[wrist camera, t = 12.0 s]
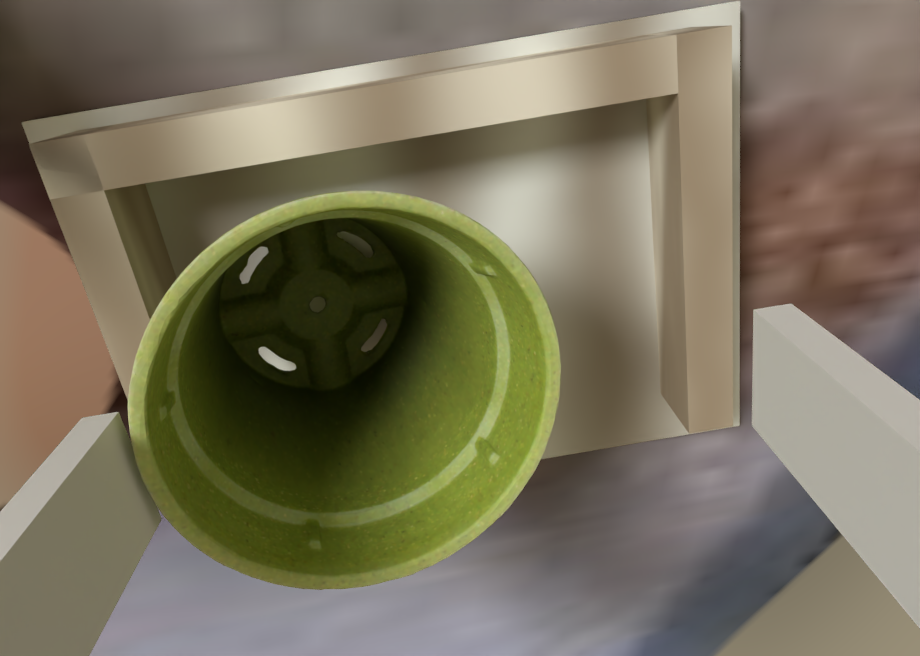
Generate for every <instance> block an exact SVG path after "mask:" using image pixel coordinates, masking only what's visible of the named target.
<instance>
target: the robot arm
mask: <svg viewBox="0 0 920 656" xmlns="http://www.w3.org/2000/svg"><path fill="white" fill-rule="evenodd" d="M752 426H753V427H754V429H755V430H756V431H757V432H758V434H759V435H760V436H761V437H762V438H763V440H764V441H765V442H766V443H767V444H768V446H769V447H770V448H771V449H772V450H773V452H774V453H775V454H776V455H777V457H778V458H779V459H780V460H781V461H782V463H783V464H784V465H785V466H786V467H787V469H788V470H789V471H790V472H791V473H792V475H793V476H794V477H795V478H796V480H797V481H798V482H799V483H800V484H801V486H802V487H803V488H804V489H805V490H806V492H807V493H808V494H809V495H810V496H811V498H812V499H813V500H814V501H815V503H816V504H817V505H818V506H819V507H820V509H821V510H822V511H823V512H824V513H825V515H826V516H827V517H828V518H829V519H830V521H831V522H832V523H833V524H834V526H835V527H836V528H837V529H838V530H839V532H840V533H841V534H842V535H843V536H844V538H845V539H846V540H847V541H848V542H849V544H850V545H851V546H852V547H853V548H854V550H855V551H856V552H857V553H858V554H859V556H860V557H861V558H862V559H863V561H864V562H865V563H866V564H867V565H868V567H869V568H870V569H871V570H872V571H873V573H874V574H875V575H876V576H877V578H878V579H879V580H880V581H881V582H882V584H883V585H884V586H885V587H886V588H887V589H888V591H889V592H890V593H891V595H892V596H893V597H894V598H895V599H896V600H897V602H898V603H899V604H900V605H901V607H902V608H903V609H904V610H905V611H906V613H907V614H908V615H909V616H910V618H911V619H912V620H913V621H914V622H915V623H916V625H917V626H918V627H919V628H920V400H919V399H918V398H916V397H915V396H914V395H912V394H911V393H910V392H908V391H907V390H906V389H904V388H903V387H902V386H900V385H899V384H898V383H896V382H895V381H894V380H892V379H891V378H890V377H888V376H887V375H886V374H884V373H883V372H882V371H880V370H879V369H878V368H876V367H875V366H874V365H872V364H871V363H870V362H868V361H867V360H866V359H864V358H863V357H862V356H860V355H859V354H858V353H856V352H855V351H854V350H852V349H851V348H850V347H848V346H847V345H846V344H844V343H843V342H842V341H840V340H839V339H838V338H836V337H835V336H834V335H832V334H831V333H830V332H828V331H827V330H826V329H824V328H823V327H822V326H820V325H819V324H818V323H816V322H815V321H814V320H812V319H811V318H810V317H808V316H807V315H806V314H804V313H803V312H802V311H800V310H799V309H798V308H796V307H795V306H794V305H792V304H785V305H779V306H773V307H767V308H761V309H754V310H753V377H752ZM161 519H162V518H161V516H160V514H159V511H158V509H157V506H156V504H155V502H154V500H153V498H152V497H151V495H150V493H149V491H148V490H147V488H146V486H145V483H144V482H143V480H142V477H141V474H140V471H139V469H138V466H137V463H136V459H135V455H134V451H133V447H132V444H131V442H130V439H129V437H128V434H127V432H126V429H125V427H124V425H123V422H122V420H121V417H120V415H119V412H115V413H109V414H103V415H97V416H90V417H85V418H82V419H81V420H80V421H79V422H78V423H77V424H76V425H75V426H74V428H73V429H72V430H71V431H70V432H69V433H68V434H67V436H66V437H65V438H64V439H63V440H62V441H61V442H60V444H59V445H58V446H57V447H56V448H55V449H54V451H53V452H52V453H51V454H50V455H49V456H48V457H47V459H46V460H45V461H44V462H43V463H42V464H41V465H40V467H39V468H38V469H37V470H36V471H35V472H34V473H33V475H32V476H31V477H30V478H29V479H28V480H27V481H26V483H25V484H24V485H23V486H22V487H21V488H20V490H19V491H18V492H17V493H16V494H15V495H14V496H13V498H12V499H11V500H10V501H9V502H8V503H7V504H6V506H5V507H4V508H3V509H2V510H1V511H0V656H89V655H90V653H91V651H92V649H93V647H94V646H95V644H96V642H97V640H98V638H99V636H100V634H101V632H102V630H103V629H104V627H105V625H106V623H107V621H108V619H109V617H110V615H111V613H112V612H113V610H114V608H115V606H116V604H117V602H118V600H119V598H120V597H121V595H122V593H123V591H124V589H125V587H126V585H127V583H128V581H129V580H130V578H131V576H132V574H133V572H134V570H135V568H136V566H137V564H138V563H139V561H140V559H141V557H142V555H143V553H144V551H145V549H146V548H147V546H148V544H149V542H150V540H151V538H152V536H153V534H154V532H155V531H156V529H157V527H158V525H159V523H160V521H161Z"/></svg>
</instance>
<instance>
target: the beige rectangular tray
mask: <svg viewBox="0 0 920 656" xmlns="http://www.w3.org/2000/svg"><path fill="white" fill-rule="evenodd" d="M21 123H22V126H23V128H24V131H25V133H26V136H27V139H28V141H29V147H30V150H31V152H32V155H33V157H34V160H35V162H36V165H37V168H38V170H39V173H40V175H41V178H42V180H43V183H44V186H45V188H46V191H47V193H48V196H49V198H50V201H51V204H52V206H53V209H54V211H55V214H56V217H57V219H58V222H59V224H60V227H61V229H62V232H63V235H64V237H65V240H66V242H67V245H68V247H69V250H70V253H71V255H72V258H73V260H74V263H75V265H76V268H77V271H78V273H79V275H80V278H81V281H82V284H83V286H84V288H85V291H86V293H87V296H88V299H89V302H90V304H91V307H92V309H93V312H94V314H95V317H96V320H97V322H98V325H99V327H100V330H101V332H102V335H103V338H104V340H105V343H106V345H107V348H108V351H109V353H110V356H111V358H112V361H113V363H114V366H115V369H116V371H117V374H118V376H119V379H120V381H121V384H122V387H123V389H124V392H125V394H126V397H127V399H128V394H129V385H130V380H131V375H132V370H133V365H134V361H135V357H136V354H137V351H138V348H139V345H140V342H141V340H142V337H143V334H144V332H145V329H146V327H147V325H148V323H149V321H150V319H151V318H152V316H153V314H154V312H155V310H156V308H157V307H158V305H159V303H160V302H161V300H162V298H163V297H164V295H165V294H166V292H167V291H168V290H169V288H170V287H171V286H172V284H173V283H174V282H175V280H176V279H177V278H178V277H179V275H180V274H181V273H182V272H183V271H184V269H185V268H186V267H187V266H188V265H189V264H190V263H191V262H192V261H193V260H194V259H195V258H196V257H197V256H198V255H199V254H200V253H201V252H202V251H203V250H205V249H206V248H207V247H208V246H210V245H211V244H212V243H213V242H215V241H216V240H217V239H218V238H219V237H221V236H222V235H223V234H225V233H226V232H228V231H229V230H231V229H232V228H234V227H236V226H237V225H239V224H240V223H242V222H244V221H246V220H248V219H250V218H251V217H253V216H255V215H257V214H259V213H262V212H264V211H266V210H269V209H271V208H273V207H276V206H278V205H281V204H284V203H287V202H290V201H293V200H296V199H300V198H304V197H309V196H313V195H318V194H324V193H331V192H340V191H383V192H393V193H400V194H405V195H411V196H416V197H419V198H423V199H426V200H430V201H433V202H436V203H439V204H442V205H444V206H447V207H450V208H452V209H454V210H456V211H459V212H461V213H463V214H464V215H466V216H468V217H470V218H471V219H473V220H475V221H476V222H478V223H480V224H481V225H483V226H484V227H486V228H487V229H489V230H490V231H491V232H493V233H494V234H495V235H496V236H498V237H499V238H500V239H501V240H502V241H503V242H504V243H506V244H507V245H508V246H509V247H510V248H511V250H512V251H513V252H514V253H515V254H516V255H517V256H518V257H519V259H520V260H521V261H522V262H523V263H524V264H525V266H526V267H527V268H528V270H529V271H530V272H531V274H532V275H533V277H534V278H535V280H536V281H537V283H538V285H539V287H540V289H541V291H542V292H543V294H544V296H545V298H546V300H547V303H548V305H549V308H550V311H551V314H552V317H553V320H554V324H555V328H556V333H557V338H558V343H559V351H560V361H561V384H560V397H559V402H558V409H557V412H556V417H555V421H554V425H553V428H552V431H551V434H550V437H549V440H548V443H547V445H546V448H545V451H544V453H543V455H542V458H541V459H546V458H552V457H558V456H564V455H570V454H576V453H582V452H588V451H593V450H599V449H605V448H611V447H617V446H623V445H629V444H635V443H641V442H646V441H652V440H658V439H664V438H670V437H676V436H682V435H688V434H694V433H699V432H705V431H711V430H717V429H723V428H729V427H735V426H740V1H735V2H728V3H722V4H716V5H710V6H704V7H698V8H692V9H687V10H681V11H675V12H669V13H663V14H657V15H651V16H645V17H639V18H633V19H627V20H621V21H616V22H610V23H604V24H598V25H592V26H586V27H580V28H574V29H568V30H562V31H556V32H550V33H545V34H539V35H533V36H527V37H521V38H515V39H509V40H503V41H497V42H491V43H485V44H479V45H473V46H468V47H462V48H456V49H450V50H444V51H438V52H432V53H426V54H420V55H414V56H408V57H402V58H397V59H391V60H385V61H379V62H373V63H367V64H361V65H355V66H349V67H343V68H337V69H331V70H326V71H320V72H314V73H308V74H302V75H296V76H290V77H284V78H278V79H272V80H266V81H260V82H254V83H249V84H243V85H237V86H231V87H225V88H219V89H213V90H207V91H201V92H195V93H189V94H183V95H178V96H172V97H166V98H160V99H154V100H148V101H142V102H136V103H130V104H124V105H118V106H112V107H106V108H101V109H95V110H89V111H83V112H77V113H71V114H65V115H59V116H53V117H47V118H41V119H35V120H30V121H25V122H21ZM337 236H338V237H339V238H341V239H342V238H343V239H344V241H346V242H348V243H349V244H351V245H353V246H354V247H355V248H356V249H358V250H359V251H360V252H361V253H363V255H364V256H366V257H369V258H371V256H372V255H373V251H372V248H371V246H370V245H369V244H368V243H366V242H365V241H364V240H363V239H361V238H359V237H358V236H356V235H353V234H350V233H348V232H344V231H342V232H340V233H339V232H338V233H337ZM267 254H268V248H267V247H259V248H258V249H257V250H256V251H254V252H253V253H252V254H251V255H250V257H249V259H248V264H247V266H246V267H245V268H244V270H243V272H242V273H241V274H240V280H241V281H242V282H241V283H242V284H245V283H248V282H249V280H250V277H251V275H252V273H253V272H254V270H255V268H256V266H257V265H258V264H259V263H260V262H261V260H262V259H263V257H265V256H266V255H267ZM325 304H326V303H325V300H324V298H322V297H315V298H313V300H312V301H311V302H310V308H311V310H312V311H314V312H320V311H321V310H323V309H324V307H325ZM386 327H387V323H386V320H385V319H381V321H380V323H379V324H378V327H377V329H376V330H375V332H374V333H373V335H372V336H371V337H370V338H369V339H368V340H367V341H366V342H365V343H364V345H363V346H362V347H361V350H362V351H364V352H367V351H368V350H371V349H372V348H373V347H374V346H375V345H376V344H377V343H378V341H379V340H380V338H381V337H382V335H383V333H384V331H385V329H386ZM258 351H259V354H260V355H261V357H262V358H263V359H264V360H265V361H266V362H268V363H270V364H272V365H273V366H275V367H276V368H278V369H281V370H284V371H291V370H295V369H296V365H295V364H294V363H293V362H291V361H287V360H284V359H282V358H280V357H279V356H277V355H275V354H274V353H273V352H272V351H270V350H269V349H267V348H266V347H260V348H259V350H258Z"/></svg>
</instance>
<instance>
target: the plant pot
mask: <svg viewBox="0 0 920 656" xmlns="http://www.w3.org/2000/svg"><path fill="white" fill-rule="evenodd" d="M342 231H344V232H348V233H350V234H353V235H356V236H358V237H359V238H361V239H363V240H364V241H365V242H366V243H368V244H369V245H370V246H371V248H372V251H373V255H372V256H371V258H369V257H366V256H364V255H363V253H361V252H360V251H359V250H358V249H356V248H355V247H354V246H353V245H351V244H349V243H348V242H346V241H344V239H343V238H342V239H341V238H339V237H338V236H337V233H338V232H339V233H340V232H342ZM259 247H267V248H268V254H267V255H266V256H265V257H263V259H262V260H261V262H260V263H259V264H258V265H257V266H256V268H255V270H254V272H253V273H252V275H251V277H250V280H249V282H248V283H245V284H242V283H241V282H242V281H241V280H240V274H241V273H242V272H243V270H244V268H245V267H246V266H247V264H248V259H249V257H250V255H251V254H252V253H253V252H254V251H256V250H257V249H258V248H259ZM315 297H322V298H324V300H325V303H326V304H325V307H324V309H323V310H321V311H320V312H314V311H312V310H311V308H310V302H311V301H312V300H313V298H315ZM381 319H385V320H386V323H387V327H386V329H385V331H384V333H383V335H382V337H381V338H380V340H379V341H378V343H377V344H376V345H375V346H374V347H373V348H372V349H371V350H368V351H367V352H364V351H362V350H361V347H362V346H363V345H364V343H365V342H366V341H367V340H368V339H369V338H370V337H371V336H372V335H373V333H374V332H375V330H376V329H377V327H378V324H379V323H380V321H381ZM260 347H266V348H267V349H269V350H270V351H272V352H273V353H274V354H275V355H277V356H279V357H280V358H282V359H284V360H287V361H291V362H293V363H294V364H295V365H296V369H295V370H291V371H284V370H281V369H278V368H276V367H275V366H273V365H272V364H270V363H268V362H266V361H265V360H264V359H263V358H262V357H261V355H260V354H259V351H258V350H259V348H260ZM560 384H561V361H560V351H559V343H558V338H557V333H556V328H555V324H554V320H553V317H552V314H551V311H550V308H549V305H548V303H547V300H546V298H545V296H544V294H543V292H542V291H541V289H540V287H539V285H538V283H537V281H536V280H535V278H534V277H533V275H532V274H531V272H530V271H529V270H528V268H527V267H526V266H525V264H524V263H523V262H522V261H521V260H520V259H519V257H518V256H517V255H516V254H515V253H514V252H513V251H512V250H511V248H510V247H509V246H508V245H507V244H506V243H504V242H503V241H502V240H501V239H500V238H499V237H498V236H496V235H495V234H494V233H493V232H491V231H490V230H489V229H487V228H486V227H484V226H483V225H481V224H480V223H478V222H476V221H475V220H473V219H471V218H470V217H468V216H466V215H464V214H463V213H461V212H459V211H456V210H454V209H452V208H450V207H447V206H444V205H442V204H439V203H436V202H433V201H430V200H426V199H423V198H419V197H416V196H411V195H405V194H400V193H393V192H383V191H340V192H331V193H324V194H318V195H313V196H309V197H304V198H300V199H296V200H293V201H290V202H287V203H284V204H281V205H278V206H276V207H273V208H271V209H269V210H266V211H264V212H262V213H259V214H257V215H255V216H253V217H251V218H250V219H248V220H246V221H244V222H242V223H240V224H239V225H237V226H236V227H234V228H232V229H231V230H229V231H228V232H226V233H225V234H223V235H222V236H221V237H219V238H218V239H217V240H216V241H215V242H213V243H212V244H211V245H210V246H208V247H207V248H206V249H205V250H203V251H202V252H201V253H200V254H199V255H198V256H197V257H196V258H195V259H194V260H193V261H192V262H191V263H190V264H189V265H188V266H187V267H186V268H185V269H184V271H183V272H182V273H181V274H180V275H179V277H178V278H177V279H176V280H175V282H174V283H173V284H172V286H171V287H170V288H169V290H168V291H167V292H166V294H165V295H164V297H163V298H162V300H161V302H160V303H159V305H158V307H157V308H156V310H155V312H154V314H153V316H152V318H151V319H150V321H149V323H148V325H147V327H146V329H145V332H144V334H143V337H142V340H141V342H140V345H139V348H138V351H137V354H136V357H135V361H134V365H133V370H132V375H131V380H130V385H129V394H128V419H129V429H130V436H131V442H132V447H133V451H134V455H135V459H136V463H137V466H138V469H139V471H140V474H141V477H142V480H143V482H144V483H145V486H146V488H147V490H148V491H149V493H150V495H151V497H152V498H153V500H154V502H155V503H156V505H157V507H158V508H159V510H160V511H161V513H162V514H163V515H164V517H165V518H166V519H167V520H168V521H169V522H170V523H171V525H172V526H173V527H174V528H175V529H176V530H177V531H178V532H179V533H180V534H181V535H182V536H183V537H184V538H185V539H187V540H188V541H189V542H190V543H191V544H192V545H193V546H195V547H196V548H197V549H199V550H200V551H202V552H203V553H205V554H206V555H208V556H209V557H211V558H212V559H214V560H215V561H217V562H219V563H221V564H223V565H224V566H227V567H229V568H232V569H234V570H236V571H238V572H240V573H243V574H246V575H248V576H251V577H253V578H257V579H260V580H263V581H266V582H270V583H273V584H278V585H283V586H288V587H295V588H301V589H319V590H322V589H347V588H355V587H364V586H370V585H374V584H379V583H382V582H386V581H389V580H394V579H399V578H402V577H406V576H409V575H412V574H414V573H416V572H418V571H420V570H423V569H425V568H427V567H430V566H432V565H434V564H436V563H438V562H440V561H441V560H443V559H445V558H447V557H449V556H450V555H452V554H454V553H455V552H457V551H458V550H460V549H461V548H462V547H464V546H465V545H467V544H468V543H470V542H471V541H472V540H474V539H475V538H476V537H478V536H479V535H480V534H481V533H482V532H483V531H485V530H486V529H487V528H488V527H490V526H491V525H492V524H493V523H494V522H495V521H496V520H497V519H498V518H499V517H500V516H502V515H503V514H504V512H505V511H506V510H507V509H508V508H509V507H510V505H511V504H512V503H513V502H514V500H515V499H516V498H517V496H518V495H519V494H520V492H521V491H522V490H523V488H524V487H525V485H526V484H527V482H528V481H529V479H530V478H531V476H532V475H533V473H534V471H535V470H536V468H537V466H538V464H539V462H540V460H541V458H542V455H543V453H544V451H545V448H546V445H547V443H548V440H549V437H550V434H551V431H552V428H553V425H554V421H555V417H556V412H557V409H558V402H559V397H560Z"/></svg>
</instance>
